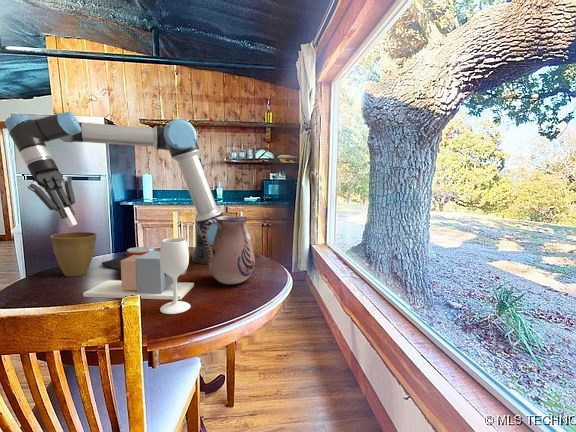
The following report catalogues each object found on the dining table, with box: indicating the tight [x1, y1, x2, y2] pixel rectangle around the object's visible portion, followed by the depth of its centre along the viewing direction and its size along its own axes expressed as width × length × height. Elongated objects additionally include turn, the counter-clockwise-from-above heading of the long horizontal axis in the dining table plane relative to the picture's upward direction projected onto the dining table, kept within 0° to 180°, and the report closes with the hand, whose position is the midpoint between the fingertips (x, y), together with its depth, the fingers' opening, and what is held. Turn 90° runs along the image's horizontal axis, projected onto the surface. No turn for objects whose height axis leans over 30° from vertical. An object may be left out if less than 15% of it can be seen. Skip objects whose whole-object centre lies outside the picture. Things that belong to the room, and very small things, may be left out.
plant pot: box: [50, 231, 98, 277], centre depth 120 cm, size 15×15×16 cm
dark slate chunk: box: [101, 251, 127, 271], centre depth 138 cm, size 15×22×5 cm
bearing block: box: [82, 250, 195, 301], centre depth 103 cm, size 32×13×13 cm, turn 89°
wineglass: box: [159, 237, 191, 315], centre depth 89 cm, size 9×9×21 cm
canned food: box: [126, 246, 150, 258], centre depth 119 cm, size 8×8×11 cm
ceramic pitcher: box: [202, 215, 256, 285], centre depth 114 cm, size 18×21×25 cm
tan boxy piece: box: [120, 255, 187, 291], centre depth 103 cm, size 20×8×10 cm, turn 89°
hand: (73, 225), depth 104 cm, fingers closed
